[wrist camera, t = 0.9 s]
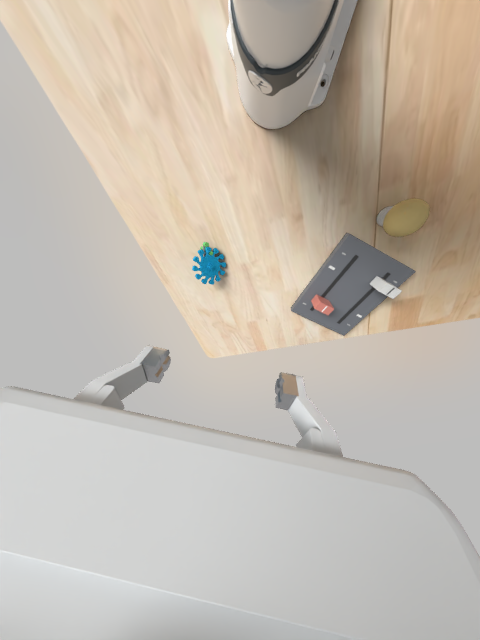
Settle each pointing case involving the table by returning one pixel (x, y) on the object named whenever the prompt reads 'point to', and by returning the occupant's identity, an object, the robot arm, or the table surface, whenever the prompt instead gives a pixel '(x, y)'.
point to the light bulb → (404, 217)
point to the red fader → (322, 304)
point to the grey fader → (385, 287)
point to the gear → (209, 264)
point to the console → (350, 284)
